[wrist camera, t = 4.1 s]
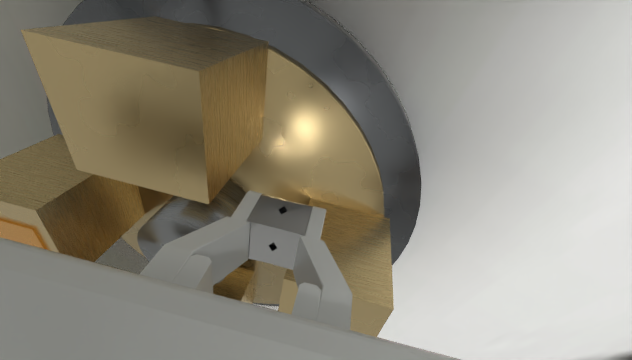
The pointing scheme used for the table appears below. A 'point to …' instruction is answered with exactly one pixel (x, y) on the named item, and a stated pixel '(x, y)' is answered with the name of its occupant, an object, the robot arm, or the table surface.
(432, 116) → the table surface
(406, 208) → the base plate
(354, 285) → the four-lug gold disc
